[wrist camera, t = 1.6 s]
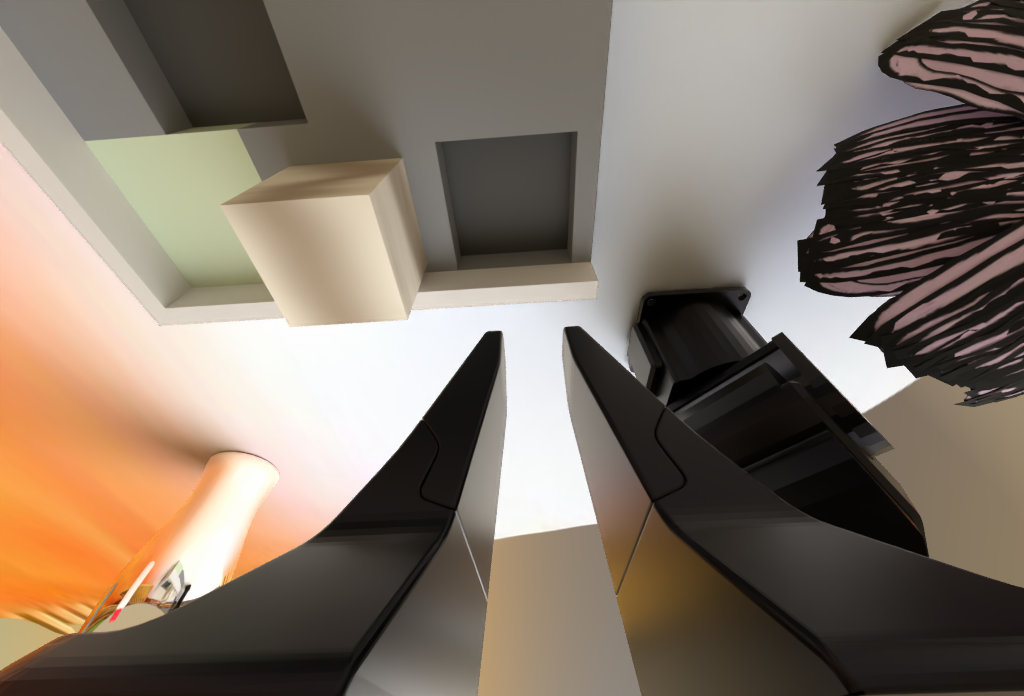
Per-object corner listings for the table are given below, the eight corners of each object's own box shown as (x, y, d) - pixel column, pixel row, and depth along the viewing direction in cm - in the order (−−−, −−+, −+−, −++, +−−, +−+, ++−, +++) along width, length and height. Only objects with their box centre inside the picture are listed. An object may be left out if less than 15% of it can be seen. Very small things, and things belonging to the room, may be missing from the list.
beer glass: (269, 448, 32) (139, 669, 21) (295, 488, 37) (200, 688, 25) (189, 447, 32) (13, 670, 21) (225, 487, 37) (97, 689, 25)
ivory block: (402, 157, 16) (369, 194, 12) (427, 263, 19) (407, 319, 15) (289, 166, 16) (219, 205, 12) (333, 269, 19) (289, 326, 15)
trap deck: (617, -233, 11) (662, -346, 8) (583, 261, 21) (596, 298, 18) (-100, -156, 11) (-322, -230, 8) (208, 286, 22) (159, 325, 19)
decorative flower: (1955, 14, 7) (1185, 519, 12) (1111, 146, 18) (883, 383, 23) (1395, -378, 7) (815, 319, 11) (870, 3, 18) (687, 277, 22)
